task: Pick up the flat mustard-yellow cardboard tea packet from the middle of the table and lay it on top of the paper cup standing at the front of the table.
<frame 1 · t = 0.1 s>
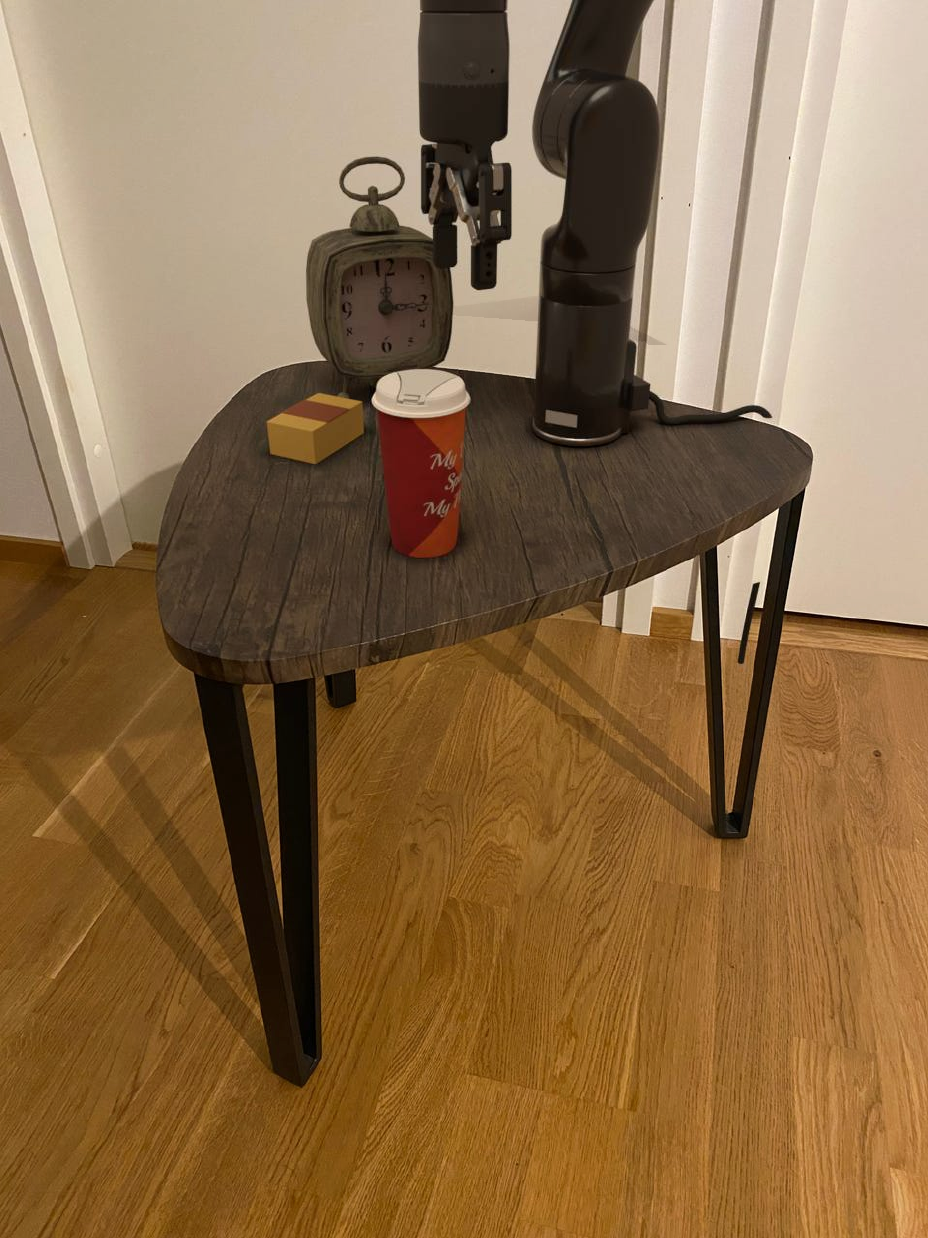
hand: (463, 277, 90), 17 cm above the table, tool pointing down, fingers open, 8 cm apart
tea packet: (318, 443, 101), on the table
paper cup: (424, 543, 84), on the table
tabletop clock: (381, 394, 113), on the table
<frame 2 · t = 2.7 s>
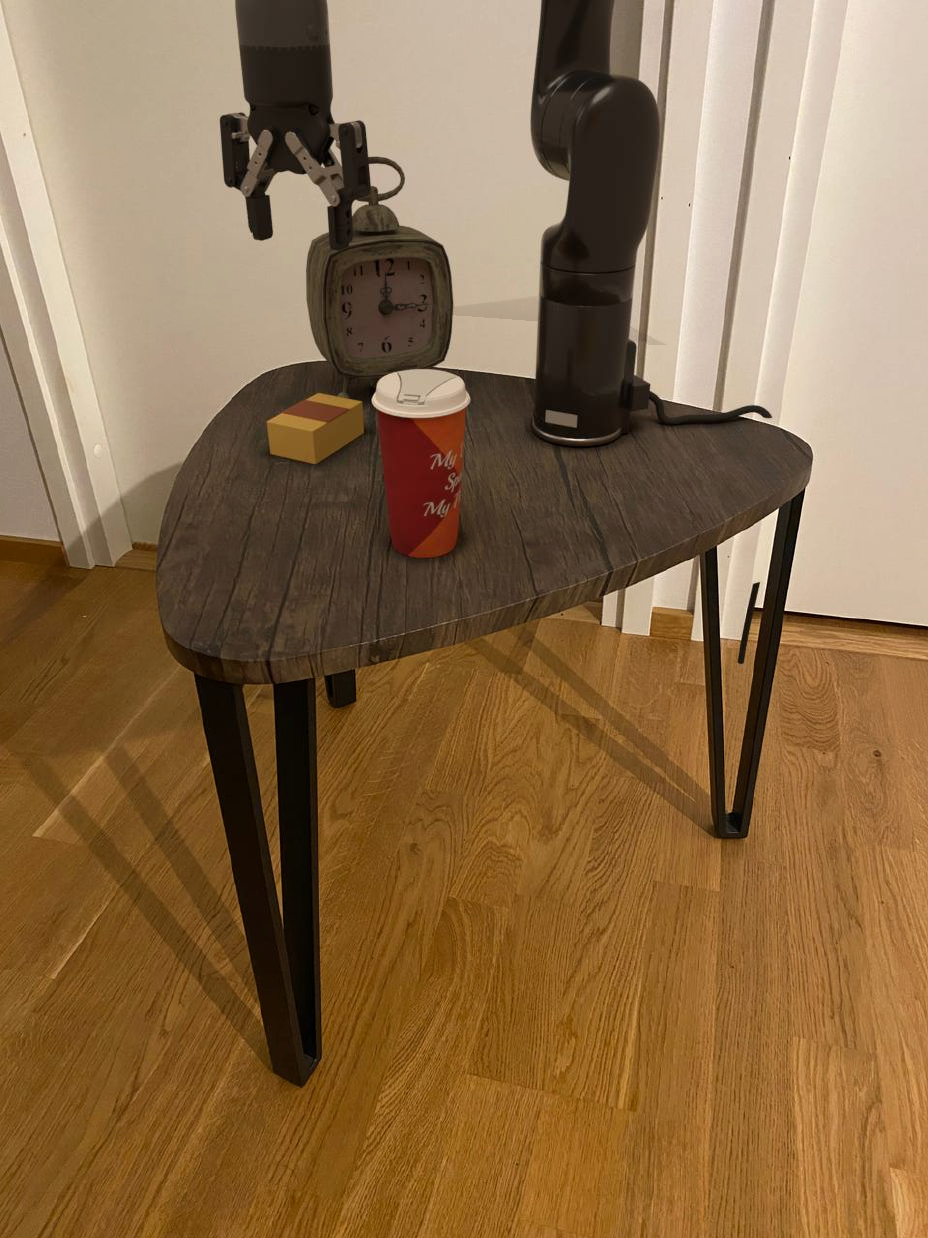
hand: (300, 243, 90), 20 cm above the table, tool pointing down, fingers open, 8 cm apart
nothing on the table moved.
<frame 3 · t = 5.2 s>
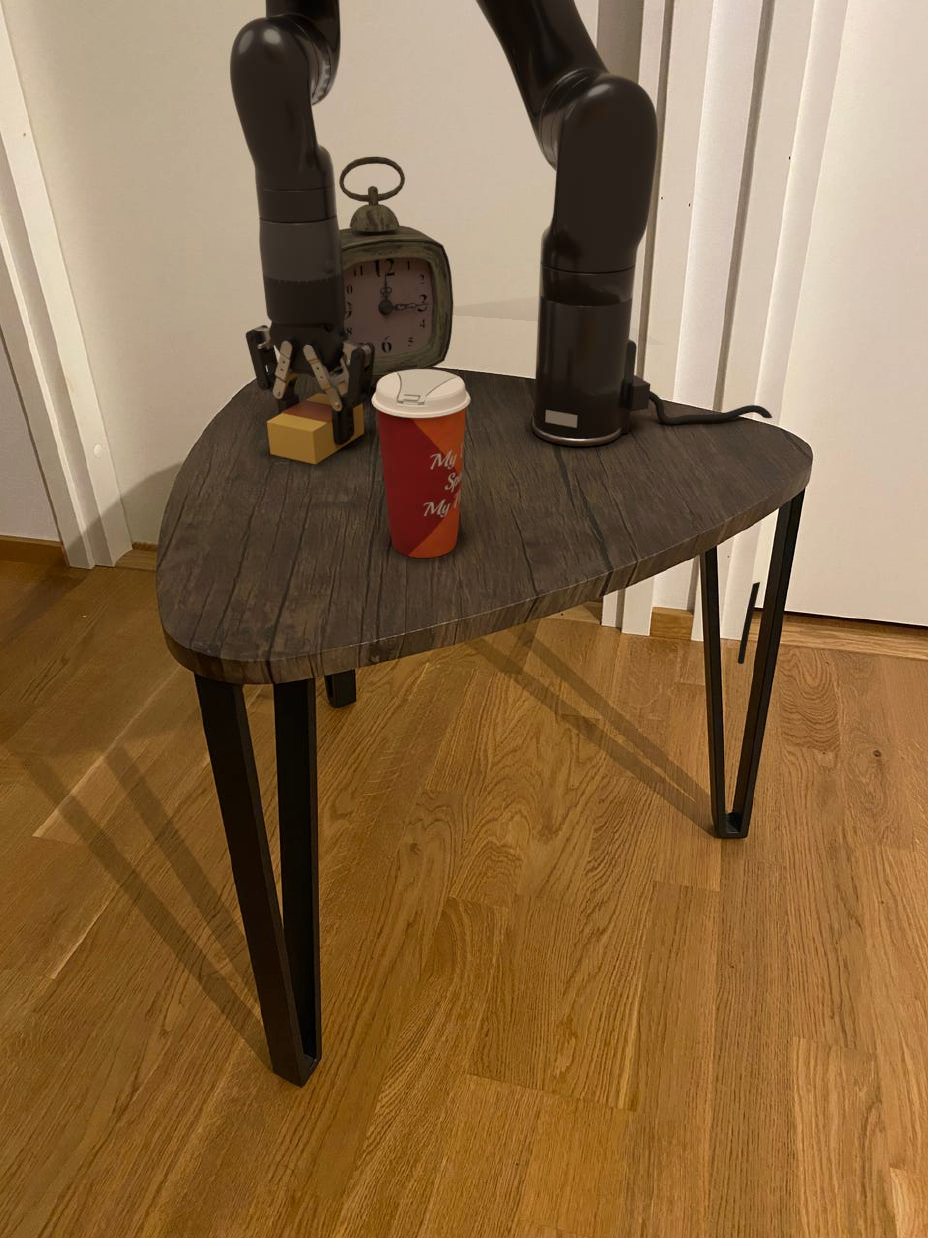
hand: (317, 435, 101), 1 cm above the table, tool pointing down, fingers closed on tea packet, 5 cm apart
tea packet: (318, 443, 101), on the table, touching gripper
everything else where it was.
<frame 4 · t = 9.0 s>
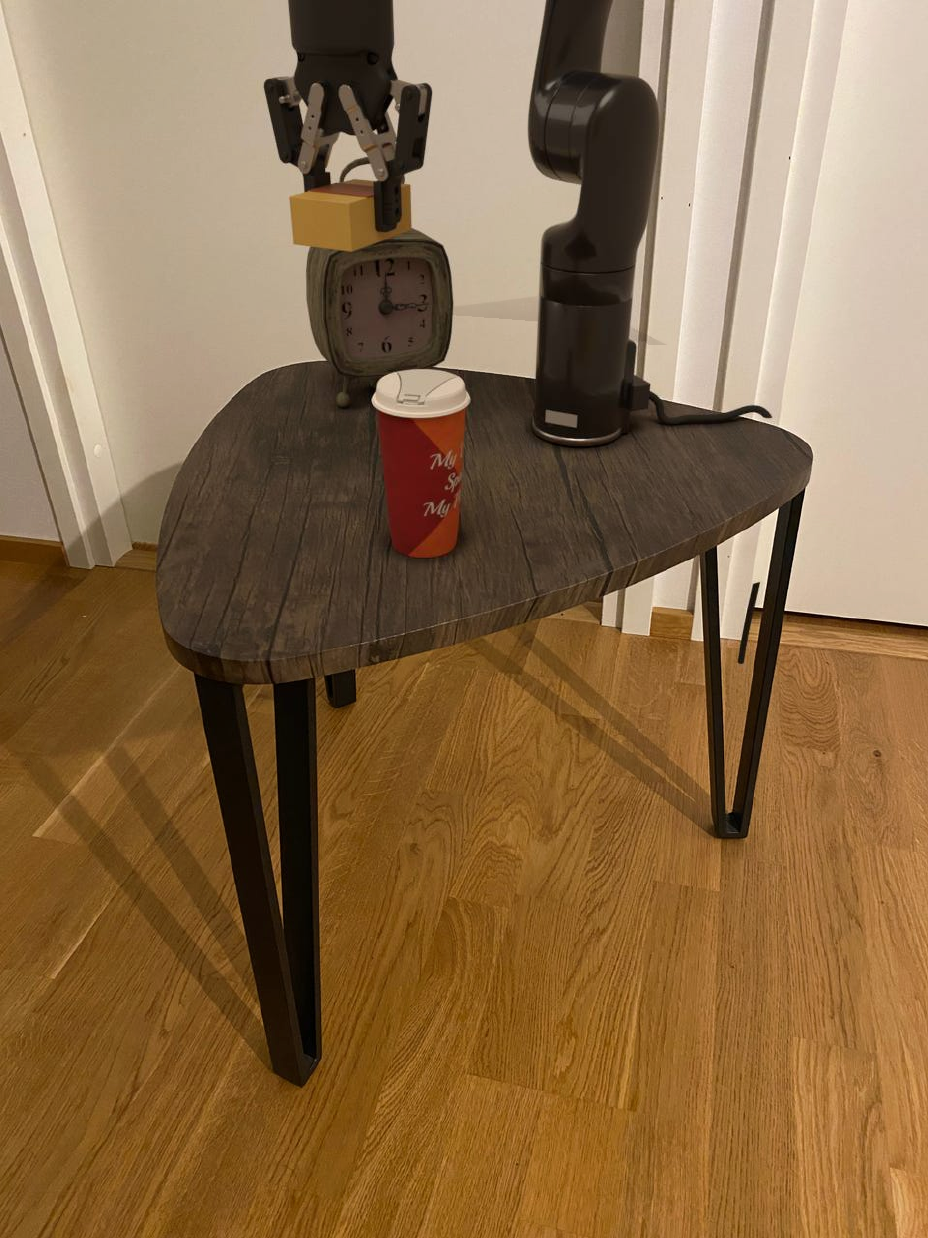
hand: (353, 225, 79), 24 cm above the table, tool pointing down, fingers closed on tea packet, 5 cm apart
tea packet: (354, 236, 79), point 23 cm above the table, touching gripper
everything else where it was.
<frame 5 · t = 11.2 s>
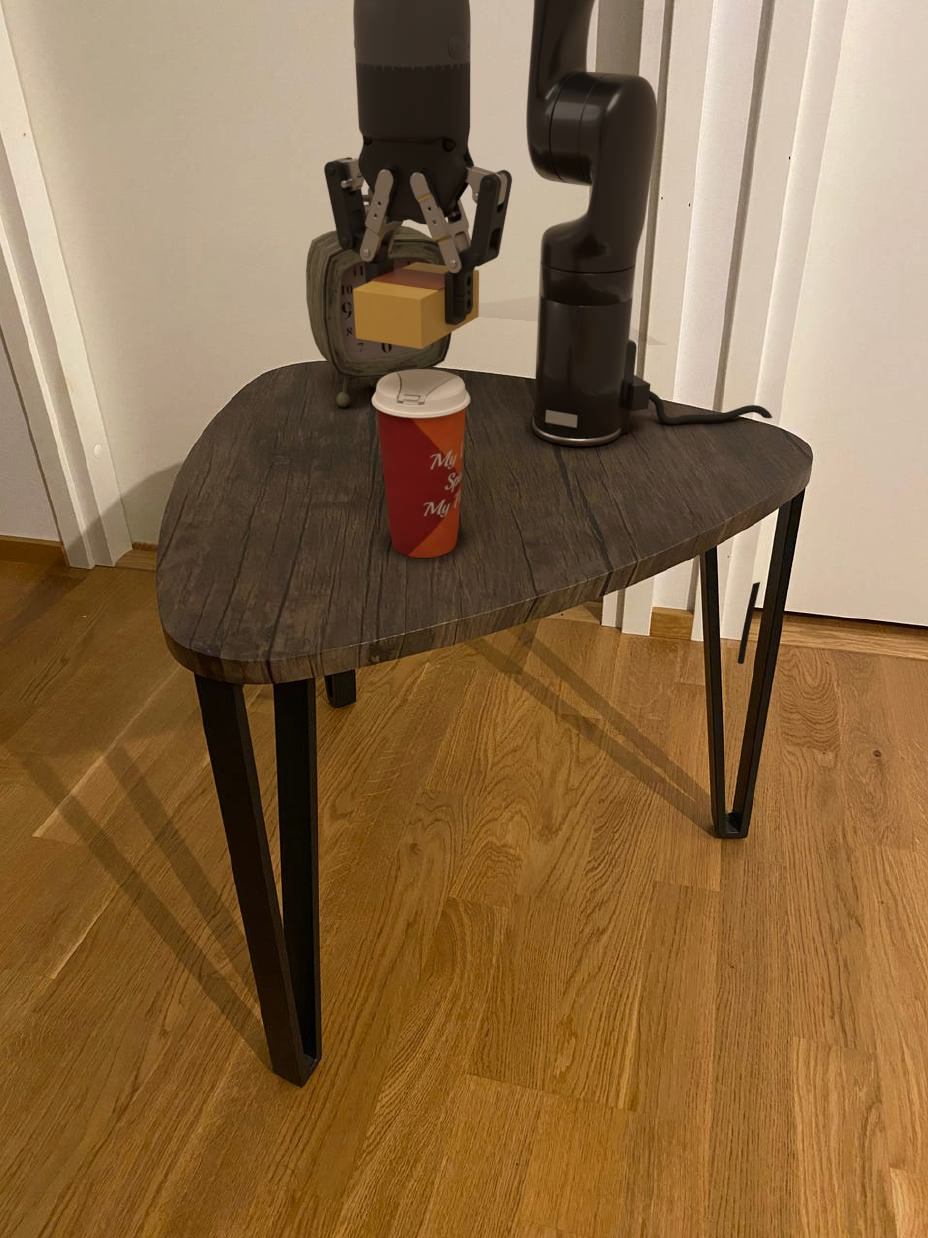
hand: (419, 315, 73), 19 cm above the table, tool pointing down, fingers closed on tea packet, 5 cm apart
tea packet: (419, 327, 73), point 18 cm above the table, touching gripper
everything else where it was.
when the fingers open (15 cm above the table, at t = 12.9 s): tea packet stays where it is, resting on paper cup.
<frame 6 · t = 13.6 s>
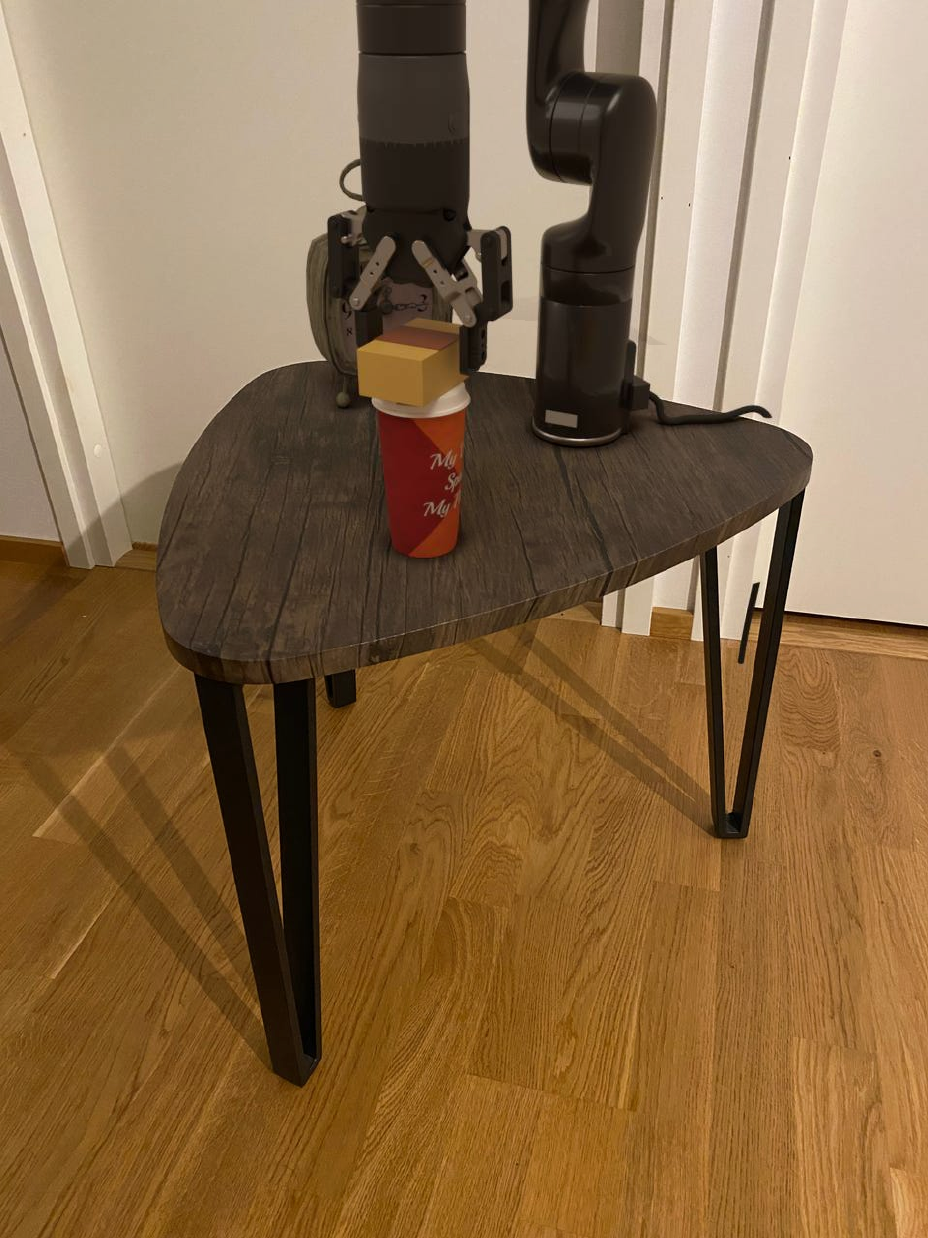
hand: (420, 364, 75), 15 cm above the table, tool pointing down, fingers open, 8 cm apart
tea packet: (420, 382, 76), point 14 cm above the table, touching paper cup
paper cup: (424, 543, 84), on the table, touching tea packet
everything else where it was.
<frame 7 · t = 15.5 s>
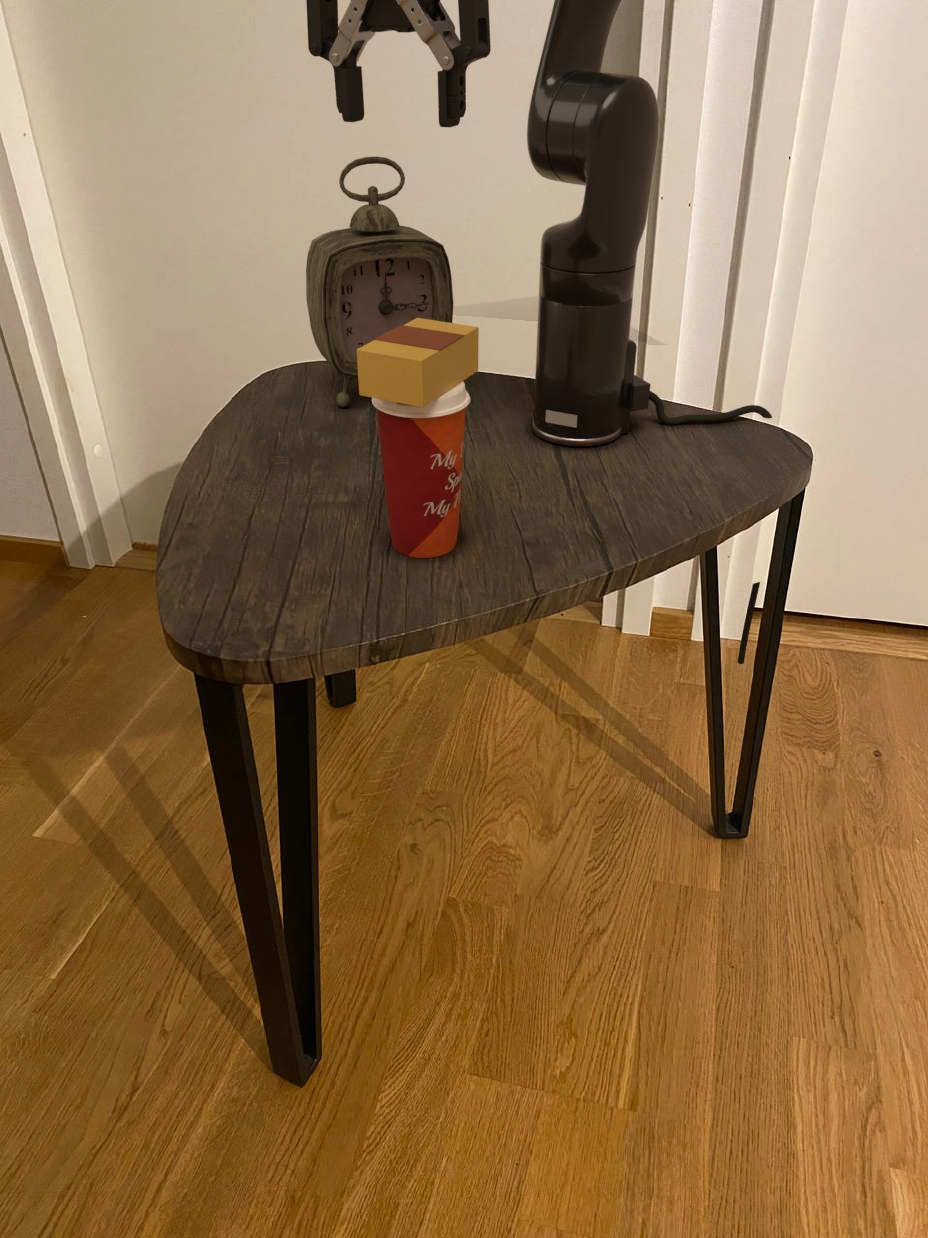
hand: (400, 123, 76), 31 cm above the table, tool pointing down, fingers open, 8 cm apart
nothing on the table moved.
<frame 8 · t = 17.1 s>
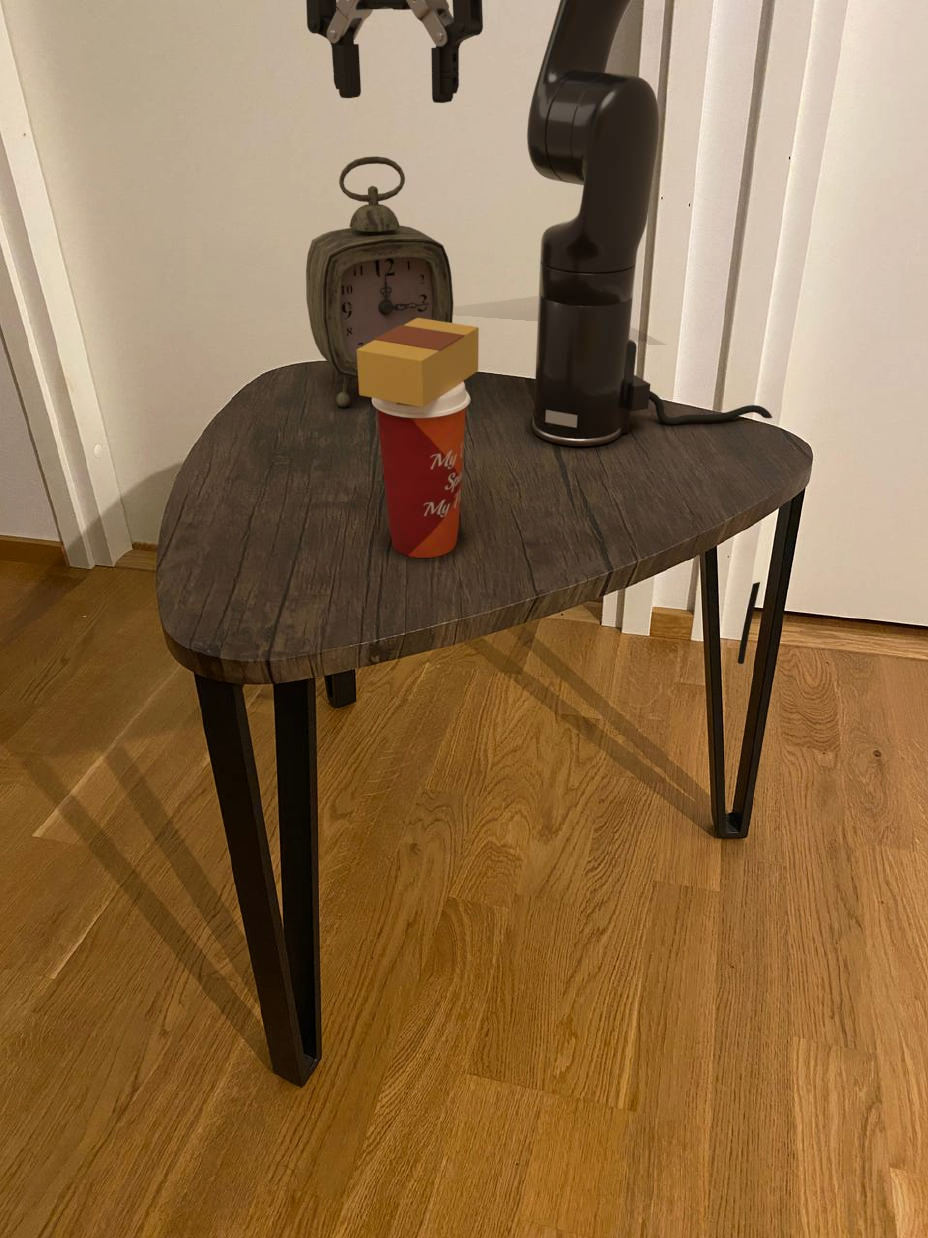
hand: (395, 99, 78), 32 cm above the table, tool pointing down, fingers open, 8 cm apart
nothing on the table moved.
at the end: tea packet 0.1 cm off-centre on the paper cup, point 14.2 cm above the paper cup's base; tea packet touching paper cup; paper cup tilted 0° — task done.
